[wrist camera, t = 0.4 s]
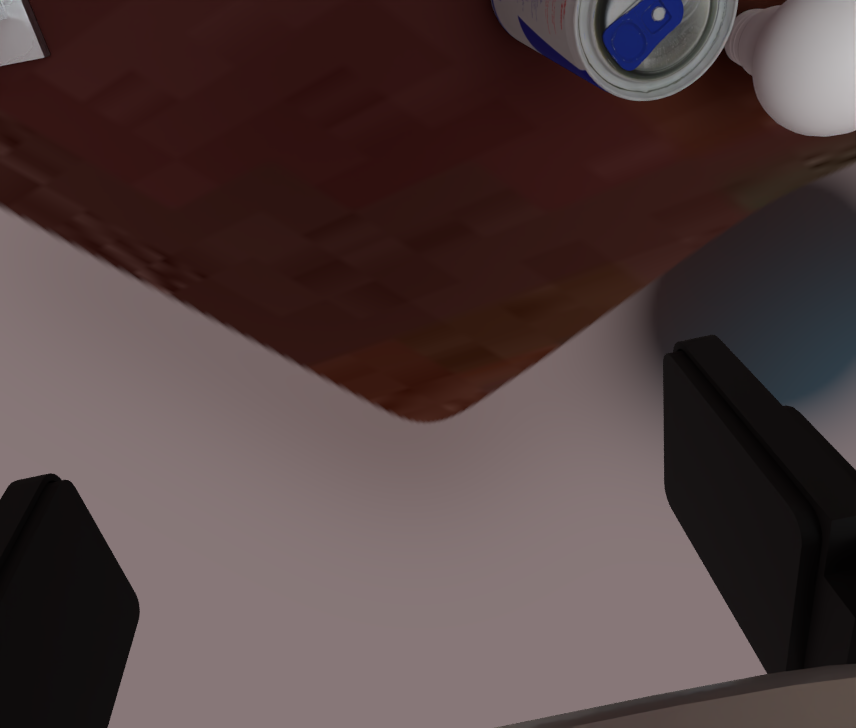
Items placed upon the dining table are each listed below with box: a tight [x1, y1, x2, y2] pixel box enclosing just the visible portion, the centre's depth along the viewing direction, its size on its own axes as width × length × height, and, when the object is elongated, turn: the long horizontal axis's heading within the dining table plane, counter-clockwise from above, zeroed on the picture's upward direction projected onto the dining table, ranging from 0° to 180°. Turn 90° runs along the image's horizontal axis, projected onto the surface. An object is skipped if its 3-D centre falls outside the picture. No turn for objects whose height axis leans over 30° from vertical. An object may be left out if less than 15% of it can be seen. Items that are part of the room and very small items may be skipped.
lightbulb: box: [725, 0, 856, 136], centre depth 32 cm, size 6×6×11 cm
